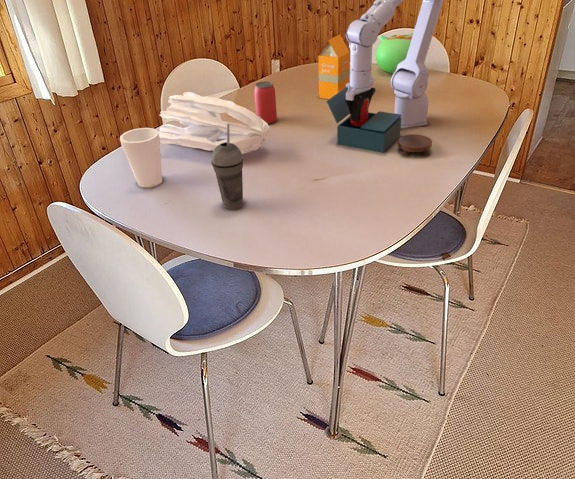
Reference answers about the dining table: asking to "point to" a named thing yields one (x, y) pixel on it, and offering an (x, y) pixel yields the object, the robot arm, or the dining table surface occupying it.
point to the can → (362, 113)
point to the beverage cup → (229, 173)
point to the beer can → (265, 101)
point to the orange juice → (333, 67)
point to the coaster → (414, 143)
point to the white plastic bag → (210, 123)
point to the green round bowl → (392, 51)
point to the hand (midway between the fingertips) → (359, 117)
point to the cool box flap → (339, 105)
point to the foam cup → (143, 155)
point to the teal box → (371, 132)
